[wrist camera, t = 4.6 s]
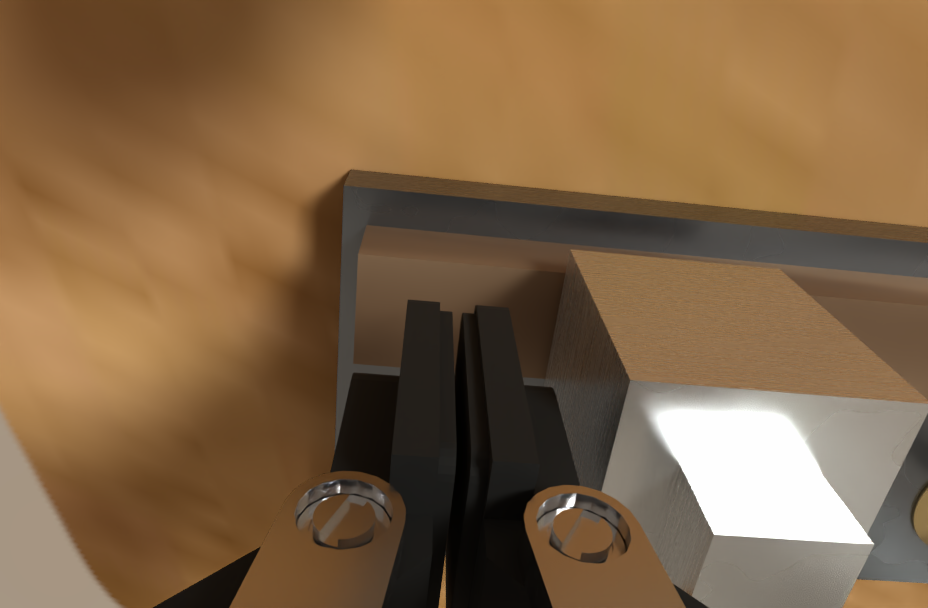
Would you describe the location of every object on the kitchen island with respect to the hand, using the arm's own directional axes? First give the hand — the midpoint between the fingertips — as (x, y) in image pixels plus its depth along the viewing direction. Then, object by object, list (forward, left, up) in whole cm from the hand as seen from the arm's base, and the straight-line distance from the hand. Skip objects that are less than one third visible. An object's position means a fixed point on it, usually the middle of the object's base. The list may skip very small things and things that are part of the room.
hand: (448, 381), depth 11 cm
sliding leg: (-2, -4, -3) cm, 6 cm away
